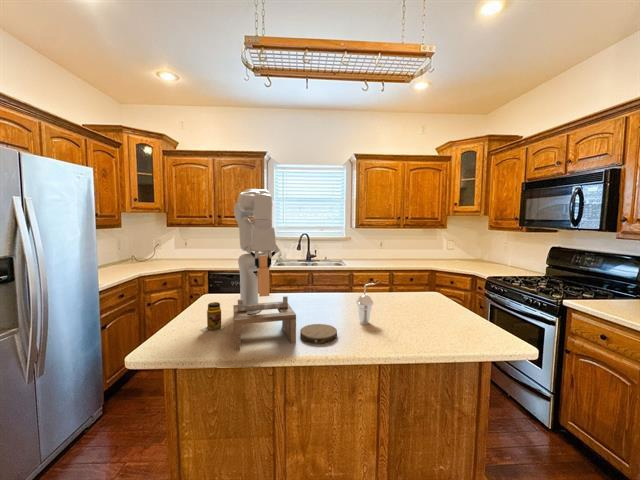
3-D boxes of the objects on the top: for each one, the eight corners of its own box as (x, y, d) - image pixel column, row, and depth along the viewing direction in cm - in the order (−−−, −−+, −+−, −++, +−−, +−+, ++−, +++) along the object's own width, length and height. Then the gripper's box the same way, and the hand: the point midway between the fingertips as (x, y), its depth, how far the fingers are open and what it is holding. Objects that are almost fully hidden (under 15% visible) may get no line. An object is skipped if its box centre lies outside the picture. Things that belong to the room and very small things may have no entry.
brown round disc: (302, 329, 137) (302, 323, 137) (336, 330, 137) (336, 324, 136) (298, 344, 121) (298, 337, 121) (337, 345, 121) (337, 338, 120)
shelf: (233, 331, 133) (233, 294, 132) (286, 326, 141) (286, 290, 139) (235, 350, 114) (234, 307, 113) (295, 343, 122) (296, 302, 120)
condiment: (215, 333, 132) (215, 306, 131) (199, 330, 134) (199, 304, 133) (225, 327, 139) (225, 302, 138) (210, 325, 141) (210, 300, 140)
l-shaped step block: (257, 291, 129) (257, 254, 128) (266, 291, 131) (266, 253, 129) (259, 296, 122) (259, 256, 120) (269, 295, 123) (269, 256, 122)
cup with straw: (360, 318, 153) (361, 279, 151) (376, 322, 147) (377, 282, 146) (352, 323, 146) (353, 282, 144) (369, 327, 140) (370, 285, 139)
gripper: (242, 224, 118) (243, 269, 119) (284, 224, 123) (284, 268, 124) (241, 223, 125) (242, 266, 126) (281, 223, 130) (281, 265, 131)
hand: (263, 266), depth 125 cm, fingers closed on l-shaped step block, 4 cm apart
